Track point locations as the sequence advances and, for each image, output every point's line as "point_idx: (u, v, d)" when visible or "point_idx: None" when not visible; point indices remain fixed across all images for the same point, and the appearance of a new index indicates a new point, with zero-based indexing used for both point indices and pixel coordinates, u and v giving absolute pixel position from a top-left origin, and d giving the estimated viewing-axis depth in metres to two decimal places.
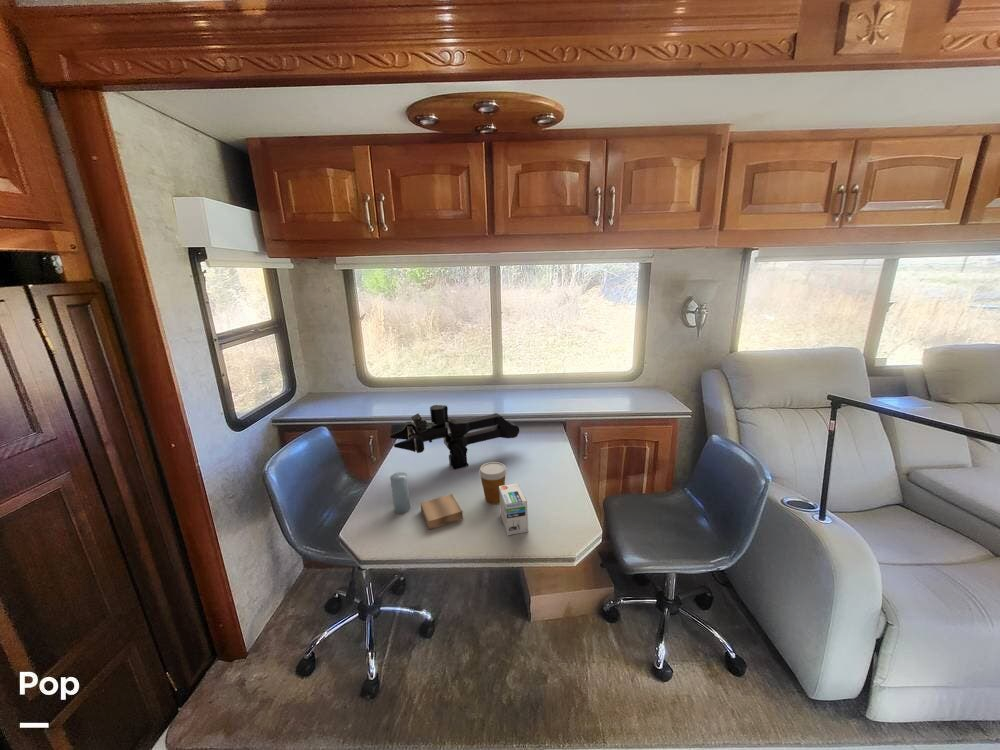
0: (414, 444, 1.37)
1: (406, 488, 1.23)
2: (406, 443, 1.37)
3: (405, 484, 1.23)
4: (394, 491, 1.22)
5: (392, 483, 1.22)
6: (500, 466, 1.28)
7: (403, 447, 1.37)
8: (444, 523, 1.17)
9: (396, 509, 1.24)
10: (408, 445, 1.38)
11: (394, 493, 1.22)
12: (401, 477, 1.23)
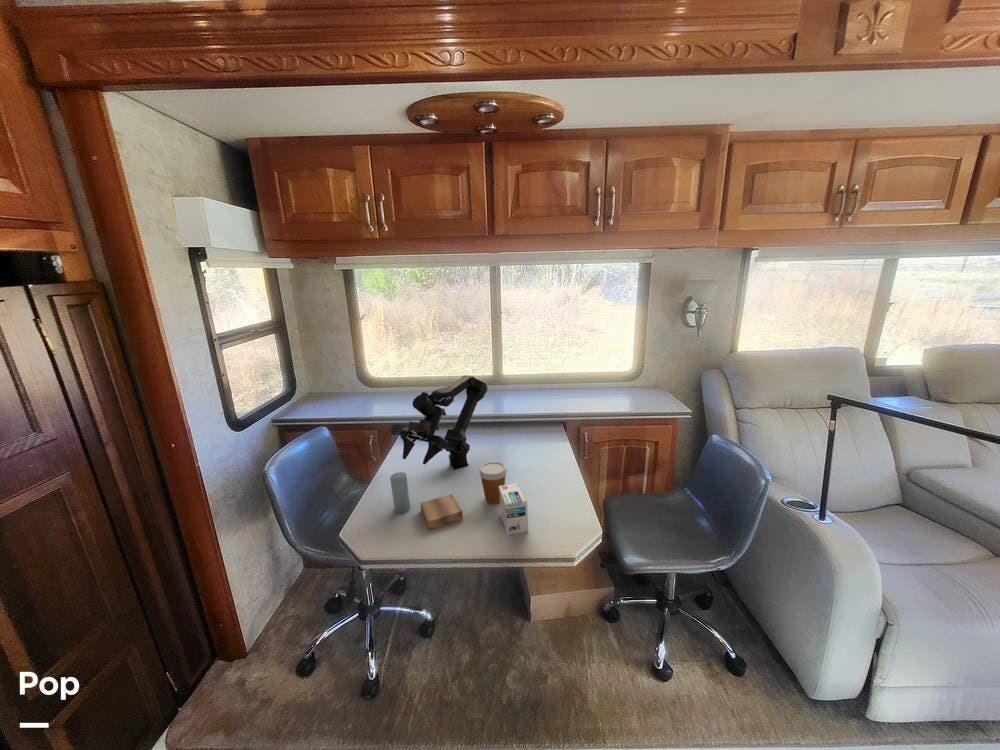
0: (438, 447, 1.29)
1: (406, 488, 1.23)
2: (431, 452, 1.29)
3: (405, 484, 1.23)
4: (394, 491, 1.22)
5: (392, 483, 1.22)
6: (500, 466, 1.28)
7: (431, 457, 1.29)
8: (444, 523, 1.17)
9: (396, 509, 1.24)
10: (433, 451, 1.30)
11: (394, 493, 1.22)
12: (401, 477, 1.23)
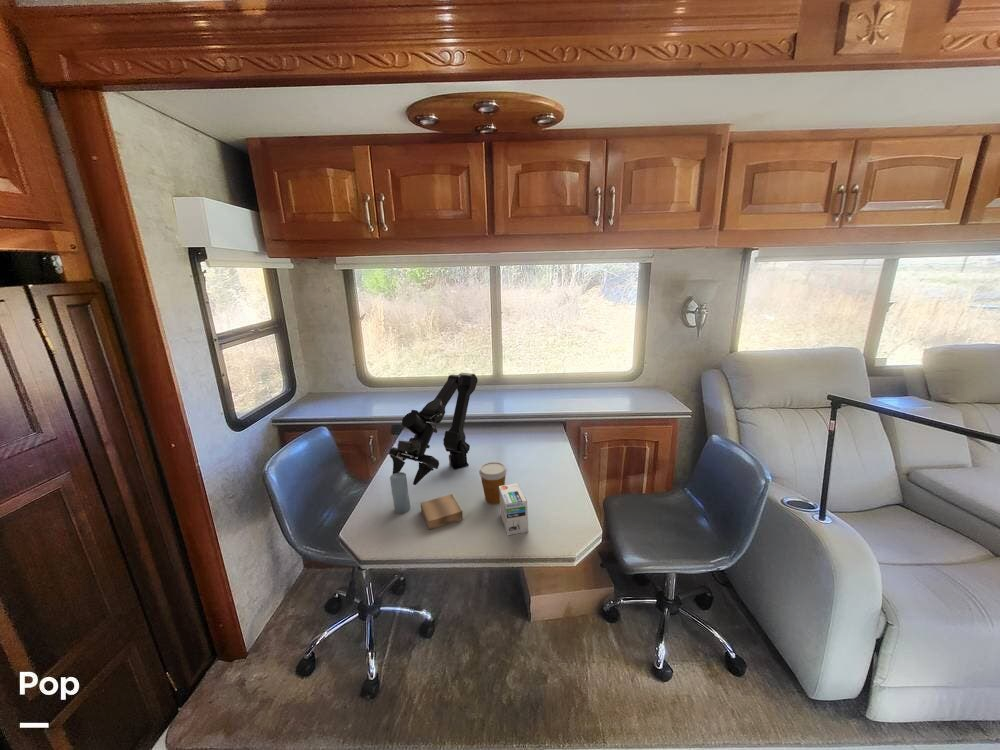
0: (429, 466, 1.25)
1: (405, 488, 1.23)
2: (421, 472, 1.25)
3: (405, 484, 1.23)
4: (394, 491, 1.22)
5: (392, 483, 1.22)
6: (500, 466, 1.28)
7: (421, 477, 1.25)
8: (444, 523, 1.17)
9: (396, 509, 1.24)
10: (423, 471, 1.26)
11: (394, 493, 1.22)
12: (401, 477, 1.23)
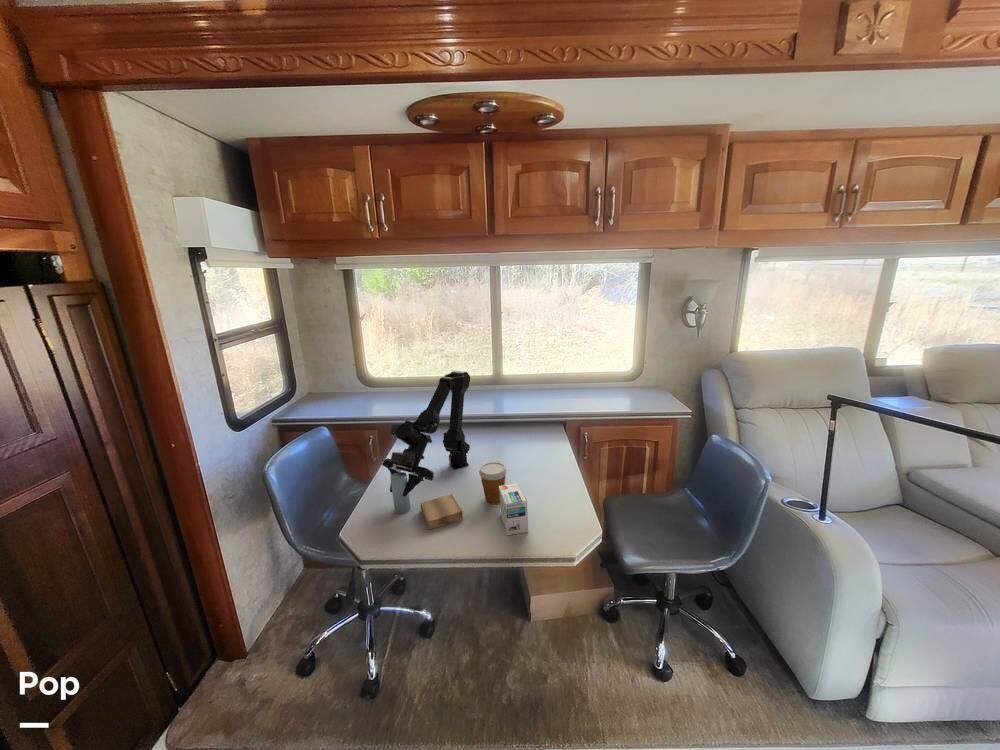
0: (419, 477, 1.23)
1: None
2: (411, 483, 1.23)
3: (405, 484, 1.23)
4: (394, 491, 1.22)
5: (392, 483, 1.22)
6: (500, 466, 1.28)
7: (411, 488, 1.24)
8: (444, 523, 1.17)
9: (396, 509, 1.24)
10: (413, 482, 1.24)
11: (394, 493, 1.22)
12: (402, 476, 1.23)
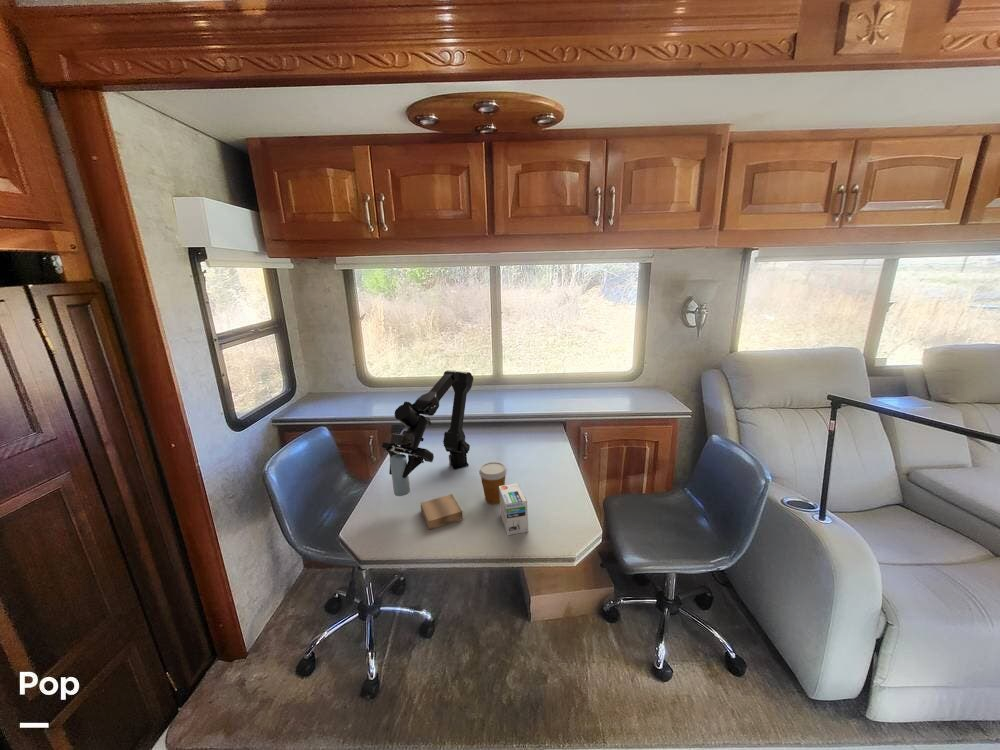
0: (419, 459, 1.21)
1: None
2: (411, 465, 1.21)
3: (405, 465, 1.21)
4: (394, 473, 1.20)
5: (392, 464, 1.20)
6: (500, 466, 1.28)
7: (411, 470, 1.22)
8: (444, 523, 1.17)
9: (396, 491, 1.22)
10: (413, 464, 1.22)
11: (394, 475, 1.20)
12: (401, 458, 1.21)
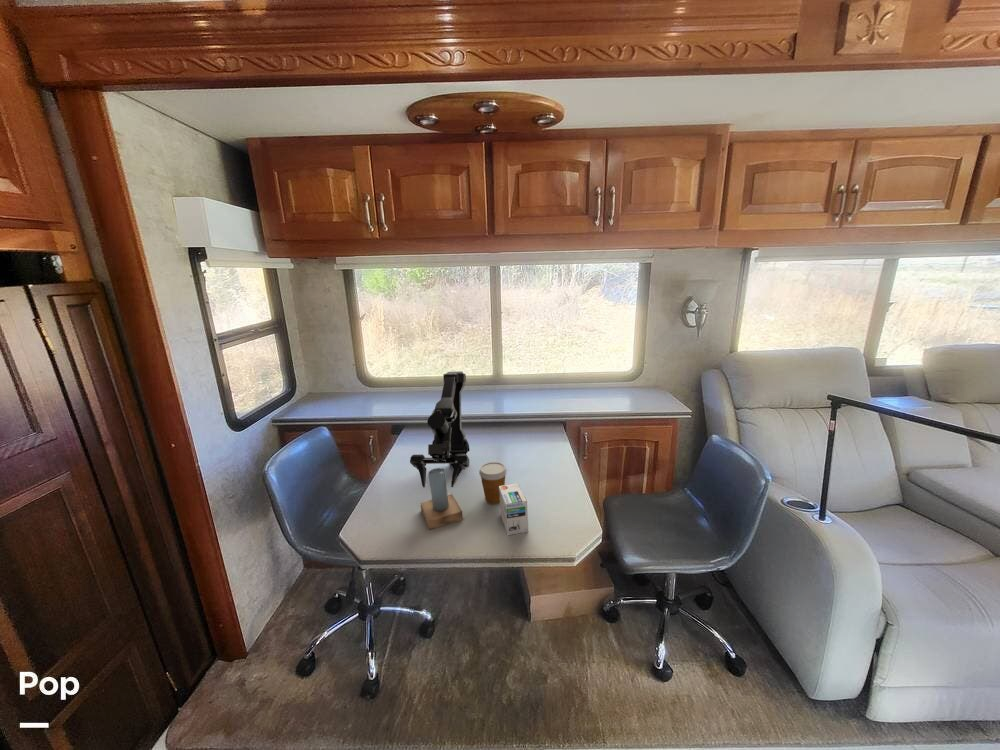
0: (463, 465, 1.21)
1: None
2: (456, 473, 1.20)
3: (445, 478, 1.19)
4: (436, 488, 1.17)
5: (434, 480, 1.16)
6: (500, 466, 1.28)
7: (456, 478, 1.20)
8: (444, 523, 1.17)
9: (438, 507, 1.19)
10: (457, 472, 1.21)
11: (436, 490, 1.17)
12: (441, 472, 1.18)
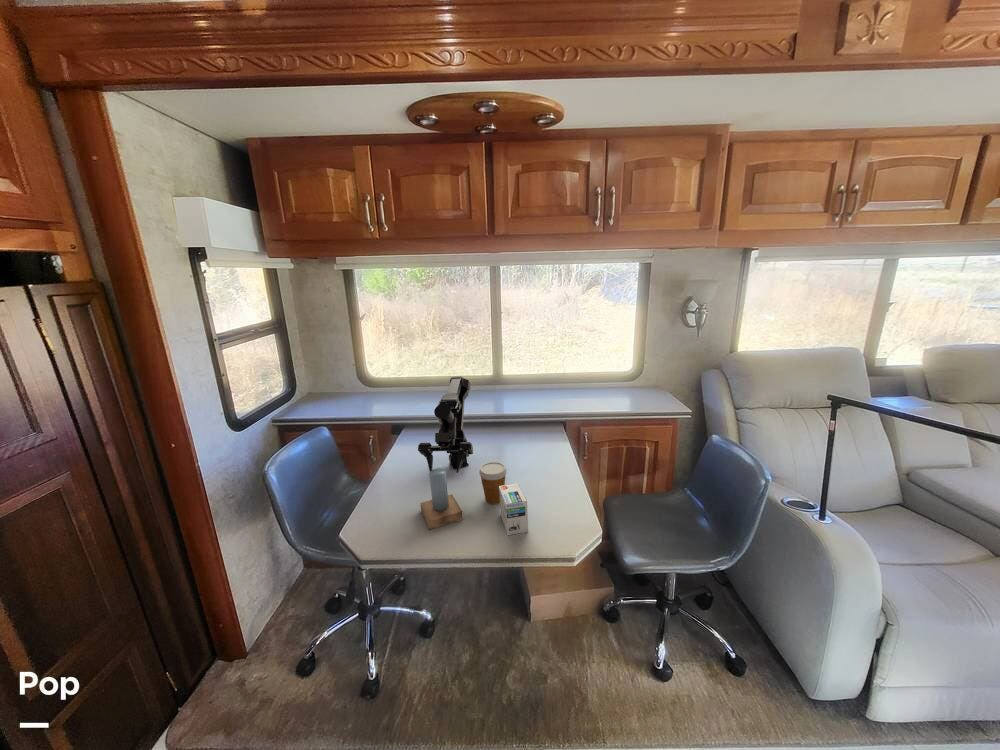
0: (467, 452, 1.30)
1: (446, 482, 1.20)
2: (461, 459, 1.29)
3: (446, 479, 1.19)
4: (437, 488, 1.17)
5: (434, 480, 1.16)
6: (500, 466, 1.28)
7: (461, 464, 1.29)
8: (444, 523, 1.17)
9: (438, 507, 1.19)
10: (461, 458, 1.30)
11: (437, 490, 1.17)
12: (442, 472, 1.18)
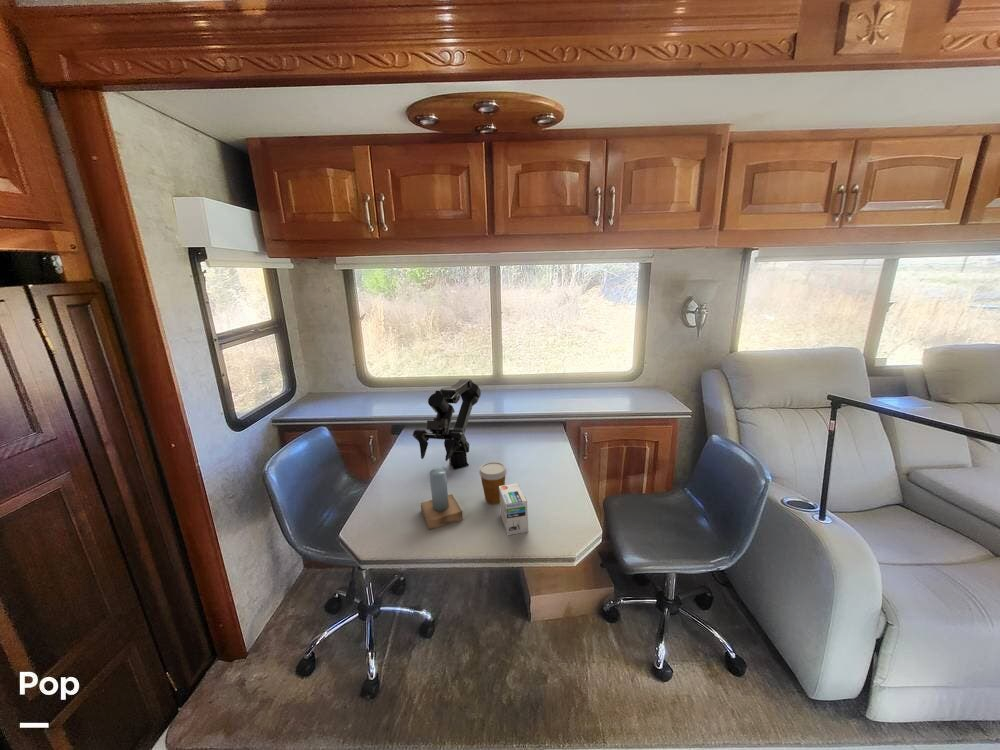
0: (458, 442, 1.32)
1: (446, 482, 1.20)
2: (451, 448, 1.31)
3: (446, 479, 1.19)
4: (437, 488, 1.17)
5: (435, 480, 1.16)
6: (500, 466, 1.28)
7: (451, 453, 1.32)
8: (444, 523, 1.17)
9: (438, 507, 1.19)
10: (452, 447, 1.33)
11: (437, 490, 1.17)
12: (442, 472, 1.18)
